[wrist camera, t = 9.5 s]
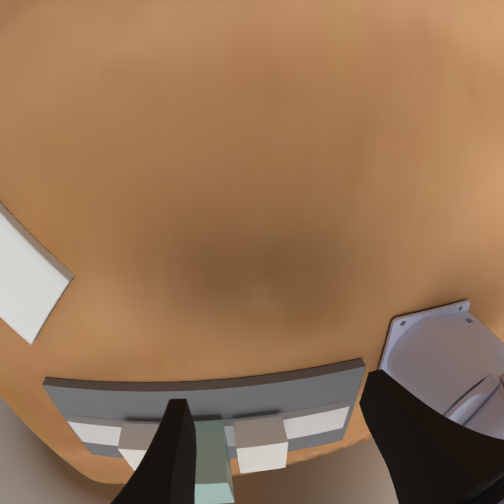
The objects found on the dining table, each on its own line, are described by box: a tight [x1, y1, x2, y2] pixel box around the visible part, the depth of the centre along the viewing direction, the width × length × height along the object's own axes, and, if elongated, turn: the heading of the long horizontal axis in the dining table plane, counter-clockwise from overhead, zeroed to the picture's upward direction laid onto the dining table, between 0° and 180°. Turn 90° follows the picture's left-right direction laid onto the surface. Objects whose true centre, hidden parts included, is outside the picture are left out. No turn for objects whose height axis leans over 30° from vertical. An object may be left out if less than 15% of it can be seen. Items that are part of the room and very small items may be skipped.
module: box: [194, 420, 234, 504], centre depth 20 cm, size 4×5×6 cm
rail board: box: [42, 359, 366, 473], centre depth 22 cm, size 28×12×5 cm, turn 92°
